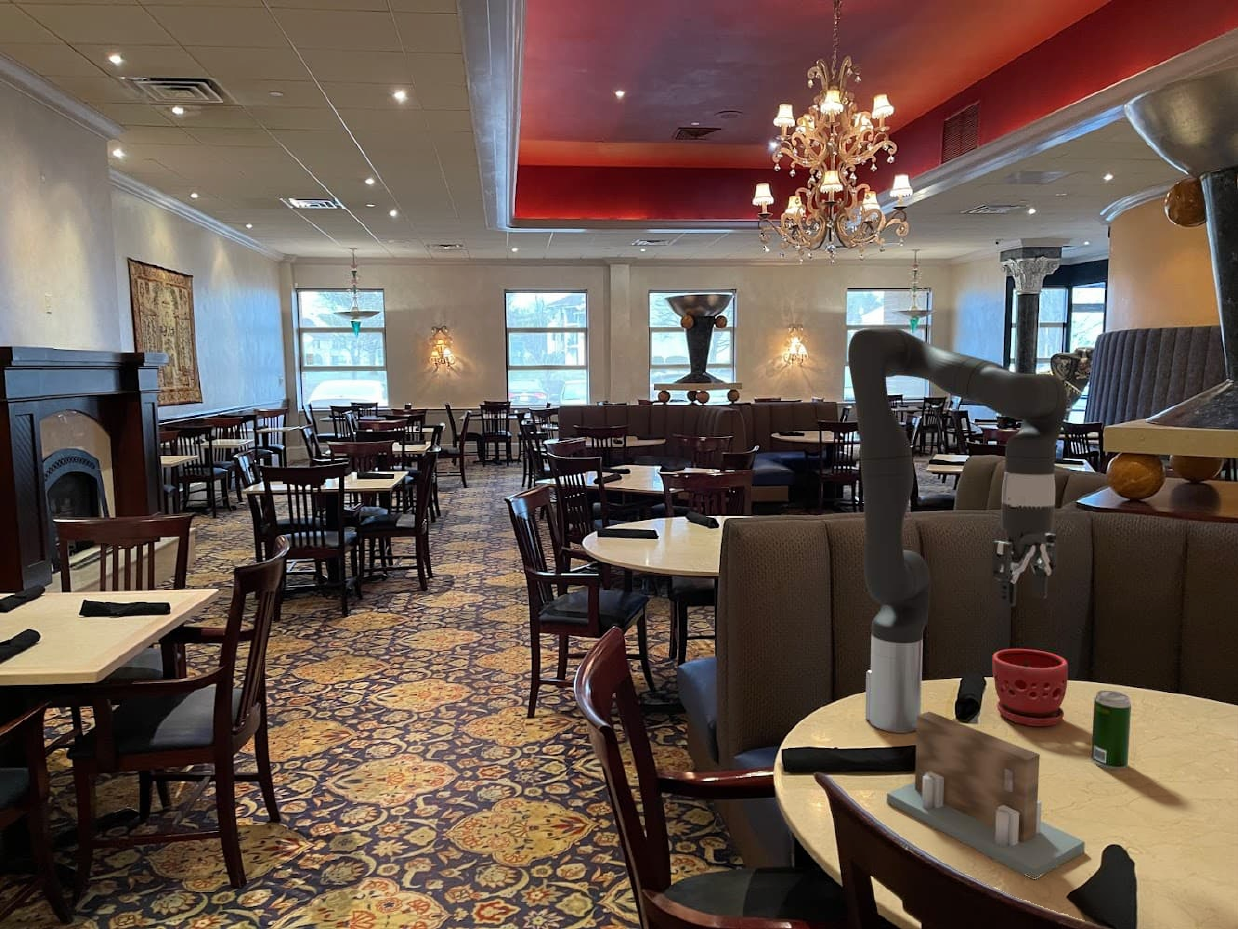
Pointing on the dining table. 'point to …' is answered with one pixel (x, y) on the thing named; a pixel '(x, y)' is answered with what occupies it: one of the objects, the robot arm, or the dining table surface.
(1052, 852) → the pegged base plate
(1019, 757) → the wooden board
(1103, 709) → the beer can
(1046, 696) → the plant pot
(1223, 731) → the dining table surface
